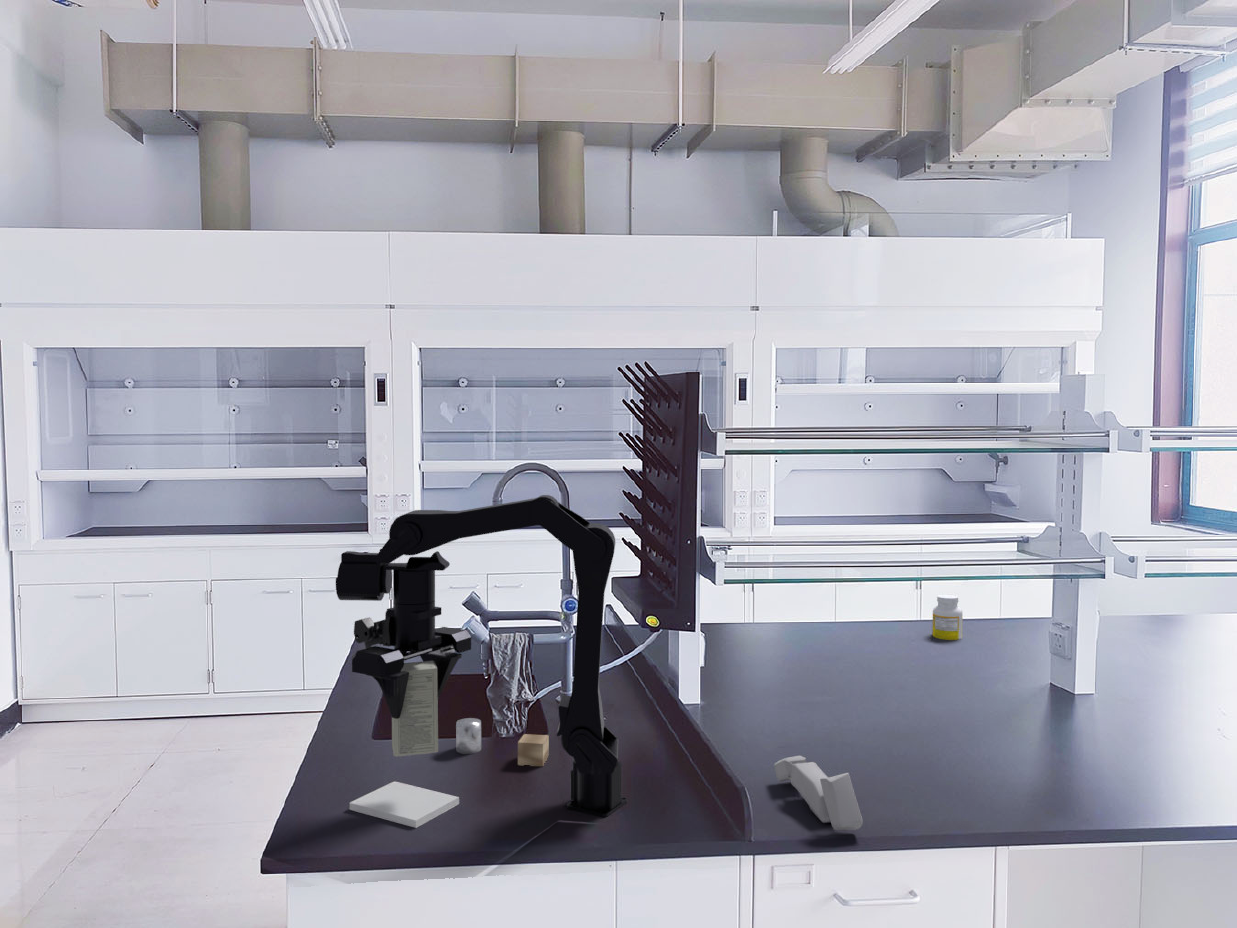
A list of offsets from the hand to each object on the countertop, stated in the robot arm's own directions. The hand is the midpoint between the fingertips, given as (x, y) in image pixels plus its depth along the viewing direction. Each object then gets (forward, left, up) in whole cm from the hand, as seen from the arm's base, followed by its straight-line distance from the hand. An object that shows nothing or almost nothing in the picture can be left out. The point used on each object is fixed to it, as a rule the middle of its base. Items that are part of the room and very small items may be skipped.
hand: (414, 710), depth 134 cm
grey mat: (0, +2, -13) cm, 13 cm away
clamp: (-50, -26, -13) cm, 58 cm away
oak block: (-6, -21, -13) cm, 26 cm away
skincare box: (0, 0, -6) cm, 6 cm away
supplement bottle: (-49, -130, -13) cm, 140 cm away
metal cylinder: (+6, -20, -13) cm, 25 cm away
